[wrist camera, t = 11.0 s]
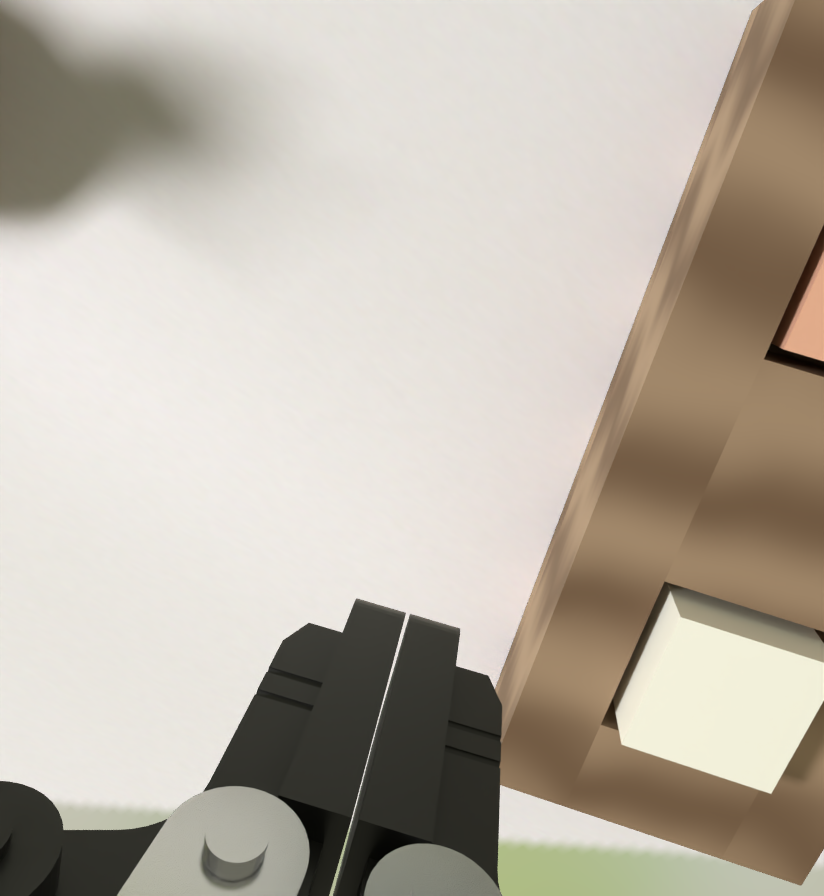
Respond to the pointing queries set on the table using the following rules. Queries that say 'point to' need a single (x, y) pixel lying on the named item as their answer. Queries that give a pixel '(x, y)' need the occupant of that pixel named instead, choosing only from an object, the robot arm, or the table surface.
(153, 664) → the table surface
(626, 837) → the table surface
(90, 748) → the table surface
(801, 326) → the terracotta key
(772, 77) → the block
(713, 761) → the cream key
